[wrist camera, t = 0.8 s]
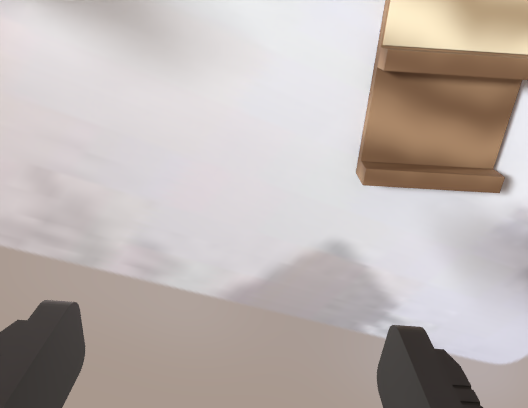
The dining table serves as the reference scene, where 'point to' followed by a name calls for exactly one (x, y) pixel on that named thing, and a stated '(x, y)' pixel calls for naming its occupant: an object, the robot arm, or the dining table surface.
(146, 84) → the dining table surface
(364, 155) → the notch rack
